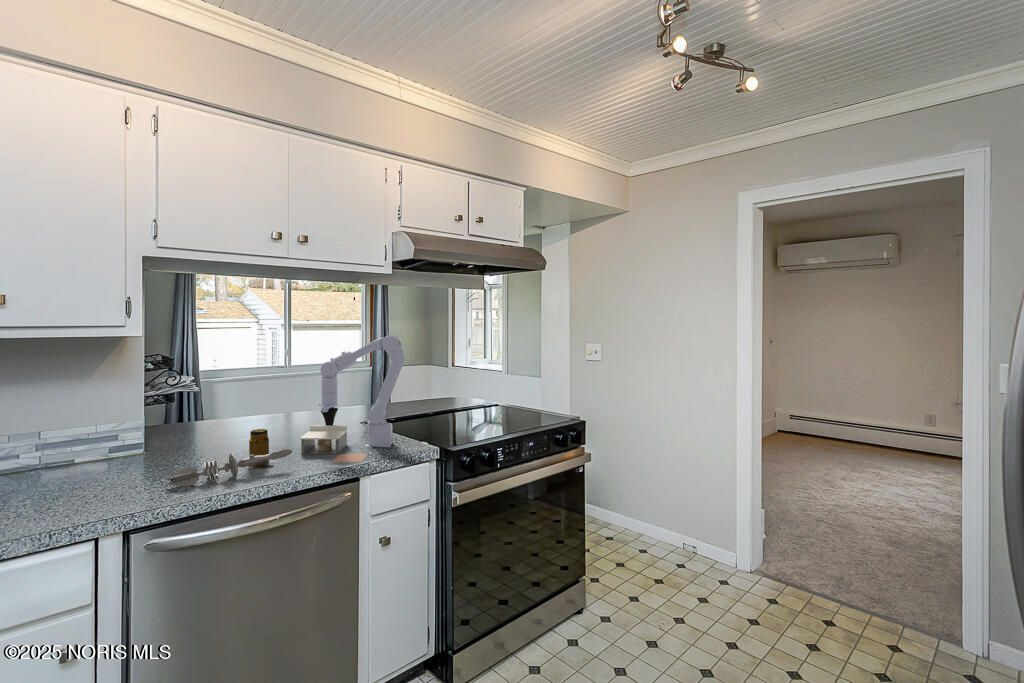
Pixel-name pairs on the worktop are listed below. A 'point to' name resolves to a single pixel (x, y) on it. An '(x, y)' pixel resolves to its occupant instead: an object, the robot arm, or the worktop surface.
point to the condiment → (259, 446)
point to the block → (324, 444)
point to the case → (311, 448)
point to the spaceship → (221, 468)
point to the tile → (350, 458)
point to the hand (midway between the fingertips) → (329, 427)
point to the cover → (325, 432)
